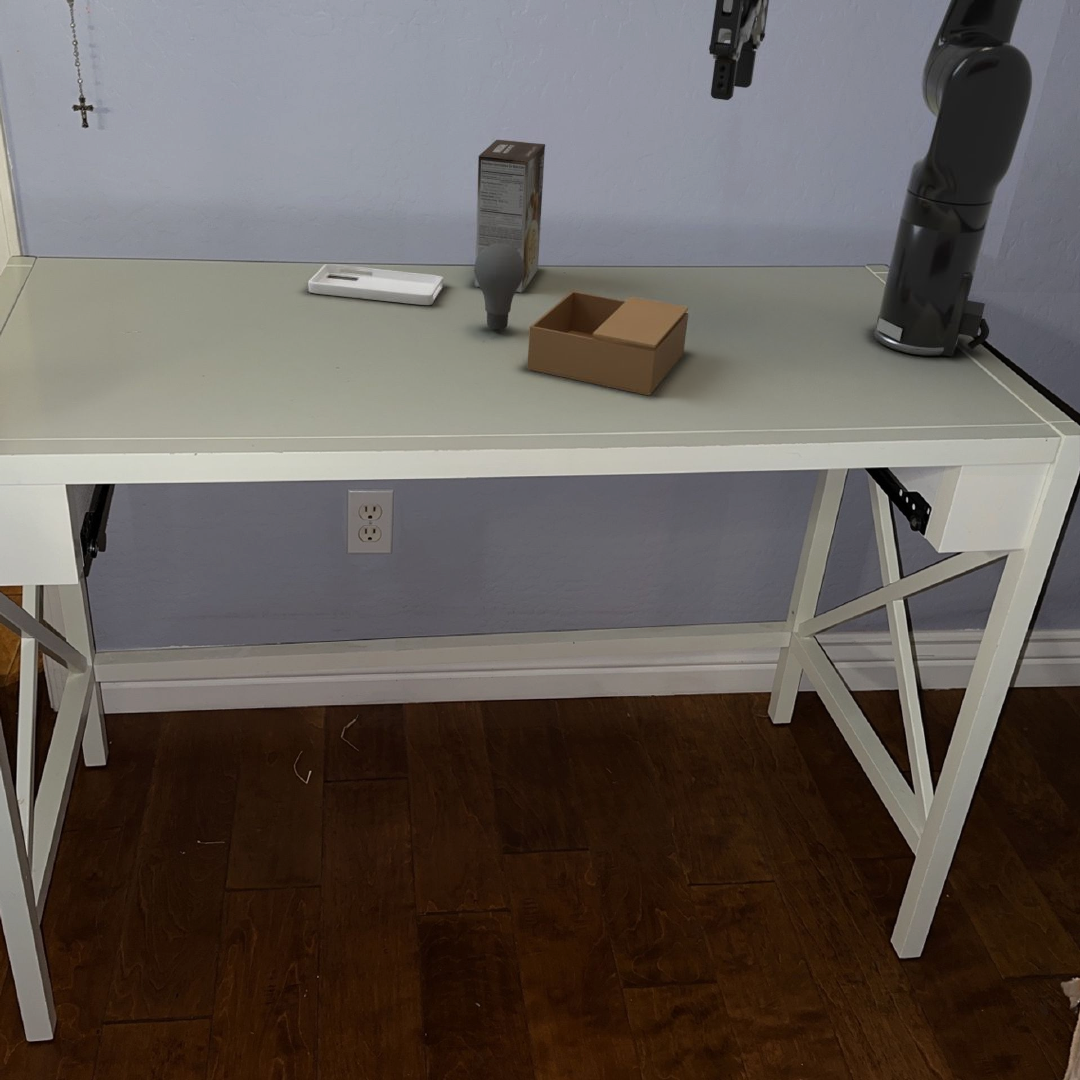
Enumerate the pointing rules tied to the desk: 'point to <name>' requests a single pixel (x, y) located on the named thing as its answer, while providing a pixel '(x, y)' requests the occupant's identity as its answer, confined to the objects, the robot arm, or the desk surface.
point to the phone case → (377, 285)
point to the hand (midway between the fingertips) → (731, 92)
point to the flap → (641, 322)
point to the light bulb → (498, 281)
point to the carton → (599, 347)
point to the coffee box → (511, 200)
